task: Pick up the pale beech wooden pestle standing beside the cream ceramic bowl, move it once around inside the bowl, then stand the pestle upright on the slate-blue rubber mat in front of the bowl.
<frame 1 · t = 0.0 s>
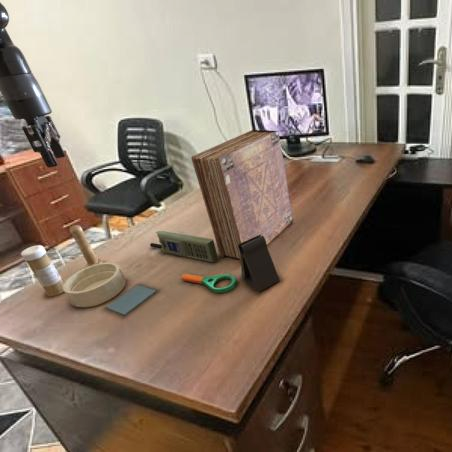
hand: (57, 161, 90), 31 cm above the table, tool pointing down, fingers open, 8 cm apart
bowl: (100, 292, 91), on the table
phone stand: (260, 280, 90), on the table
magnifying glass: (209, 284, 90), on the table
rest mat: (132, 300, 87), on the table
book: (259, 238, 108), on the table
handheld radio: (183, 254, 104), on the table
wooden pestle: (95, 267, 102), on the table
sprinkles bottle: (57, 292, 93), on the table
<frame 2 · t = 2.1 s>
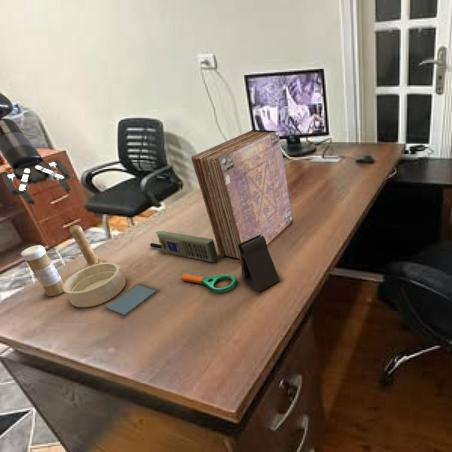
hand: (51, 197, 99), 20 cm above the table, tool tilted 45°, fingers open, 8 cm apart
nothing on the table moved.
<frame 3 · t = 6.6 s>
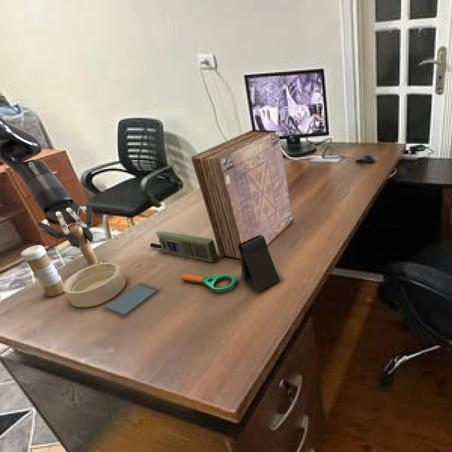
hand: (84, 243, 96), 9 cm above the table, tool tilted 45°, fingers closed on wooden pestle, 2 cm apart
wooden pestle: (95, 267, 102), on the table, touching gripper
everything else where it was.
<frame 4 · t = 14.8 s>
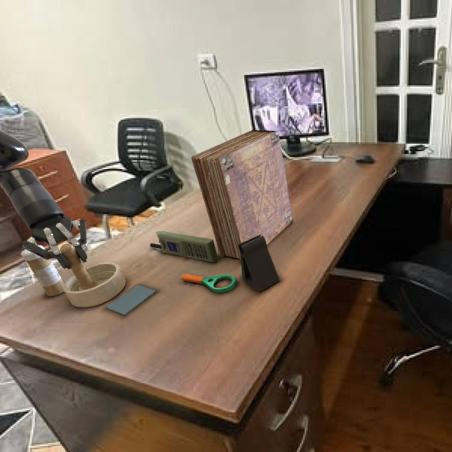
hand: (77, 264, 84), 11 cm above the table, tool tilted 45°, fingers closed on wooden pestle, 2 cm apart
wooden pestle: (90, 290, 89), point 2 cm above the table, touching gripper
everything else where it was.
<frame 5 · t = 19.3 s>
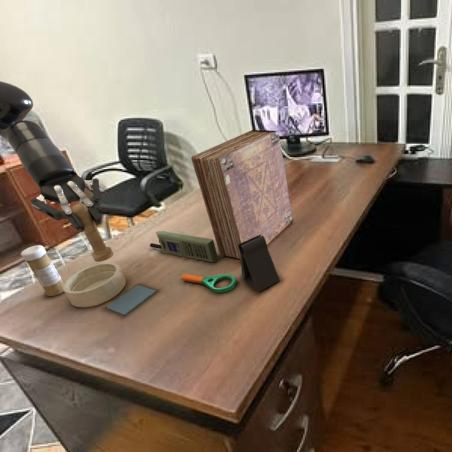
hand: (90, 225, 76), 22 cm above the table, tool tilted 45°, fingers closed on wooden pestle, 2 cm apart
wooden pestle: (104, 256, 82), point 13 cm above the table, touching gripper
everything else where it was.
when the fingers open (9 cm above the table, at t = 23.1 s): wooden pestle stays where it is, resting on rest mat.
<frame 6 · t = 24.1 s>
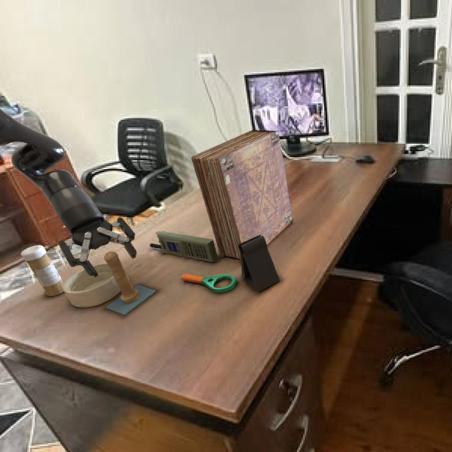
hand: (116, 266, 81), 11 cm above the table, tool tilted 45°, fingers open, 8 cm apart
wooden pestle: (131, 298, 87), resting on rest mat
everything else where it was.
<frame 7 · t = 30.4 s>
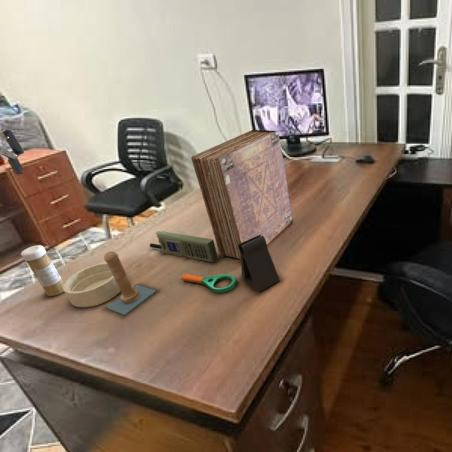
nothing on the table moved.
at the end: wooden pestle 0.0 cm off-centre on the rest mat, point 0.4 cm above the rest mat's base; wooden pestle tilted 0°; the gripper is holding nothing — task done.
